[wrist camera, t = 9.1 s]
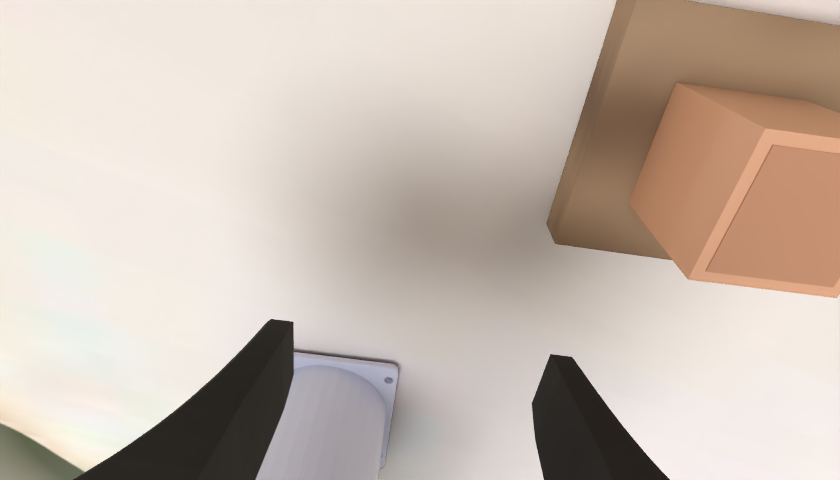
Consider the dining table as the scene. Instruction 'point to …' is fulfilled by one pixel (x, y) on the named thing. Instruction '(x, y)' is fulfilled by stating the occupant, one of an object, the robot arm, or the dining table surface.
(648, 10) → the walnut board
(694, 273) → the terracotta block
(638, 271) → the dining table surface
